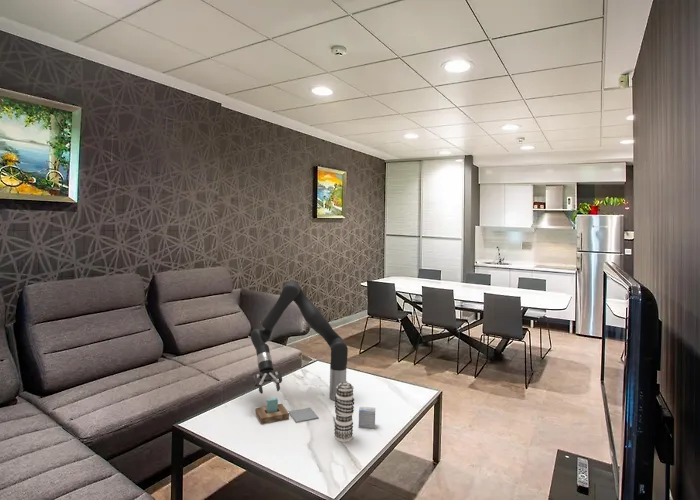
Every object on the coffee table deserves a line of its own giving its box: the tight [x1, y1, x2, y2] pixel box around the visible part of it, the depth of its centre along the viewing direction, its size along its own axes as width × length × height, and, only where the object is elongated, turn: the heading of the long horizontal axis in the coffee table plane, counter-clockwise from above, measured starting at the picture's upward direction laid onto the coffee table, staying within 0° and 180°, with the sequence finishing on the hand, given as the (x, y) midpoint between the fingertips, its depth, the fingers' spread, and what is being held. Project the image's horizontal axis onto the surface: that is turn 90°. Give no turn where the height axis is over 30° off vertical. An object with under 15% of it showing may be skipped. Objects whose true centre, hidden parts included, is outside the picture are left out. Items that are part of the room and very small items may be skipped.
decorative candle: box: [333, 381, 355, 443], centre depth 193 cm, size 9×9×25 cm
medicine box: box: [358, 406, 376, 429], centre depth 204 cm, size 8×4×9 cm, turn 84°
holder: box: [254, 403, 290, 425], centre depth 211 cm, size 14×12×3 cm
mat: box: [287, 407, 319, 424], centre depth 213 cm, size 12×12×1 cm
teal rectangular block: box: [266, 397, 279, 413], centre depth 211 cm, size 5×2×9 cm, turn 116°
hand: (270, 391), depth 214 cm, fingers open, 8 cm apart
